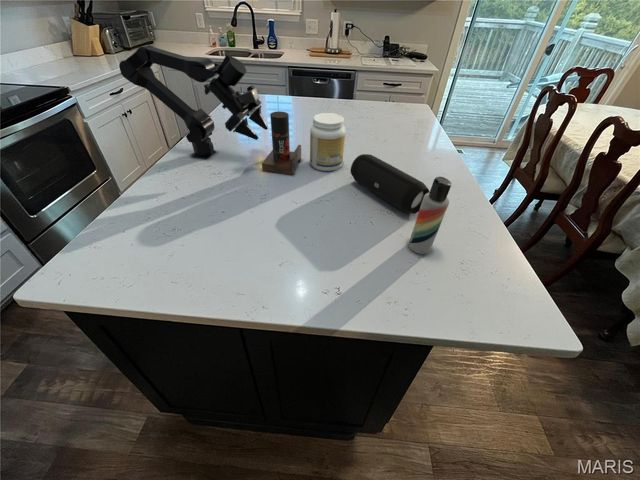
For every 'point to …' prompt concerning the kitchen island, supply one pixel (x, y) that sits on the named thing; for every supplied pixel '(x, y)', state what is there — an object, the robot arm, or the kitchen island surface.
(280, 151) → the deodorant
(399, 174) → the portable speaker
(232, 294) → the kitchen island surface
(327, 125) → the supplement tub
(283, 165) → the brown l-shaped stand
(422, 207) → the lotion bottle
